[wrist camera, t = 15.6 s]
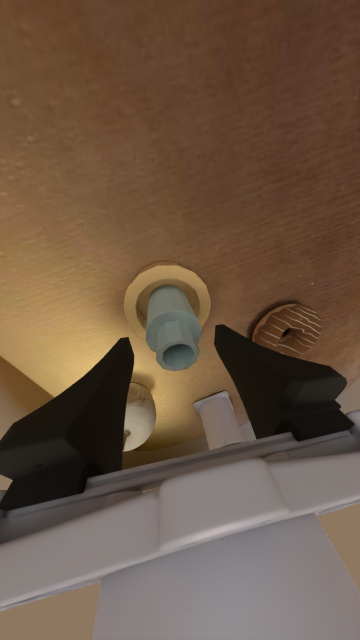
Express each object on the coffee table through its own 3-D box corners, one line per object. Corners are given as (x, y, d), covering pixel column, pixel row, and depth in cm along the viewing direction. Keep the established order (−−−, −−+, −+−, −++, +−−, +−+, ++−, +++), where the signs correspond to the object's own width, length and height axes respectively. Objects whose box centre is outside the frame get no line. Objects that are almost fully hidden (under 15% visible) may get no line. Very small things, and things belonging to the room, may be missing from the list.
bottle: (188, 286, 18) (219, 330, 10) (182, 319, 20) (201, 378, 12) (150, 281, 17) (145, 325, 8) (147, 316, 19) (142, 379, 11)
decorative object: (125, 406, 29) (113, 475, 21) (95, 383, 25) (64, 460, 16) (164, 389, 28) (168, 454, 20) (140, 363, 24) (131, 432, 15)
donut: (256, 359, 28) (270, 376, 25) (238, 324, 23) (253, 339, 20) (308, 331, 26) (331, 345, 23) (302, 286, 21) (330, 295, 18)
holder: (211, 315, 21) (218, 326, 19) (151, 341, 22) (150, 354, 19) (188, 246, 16) (195, 248, 14) (111, 282, 17) (103, 290, 14)
